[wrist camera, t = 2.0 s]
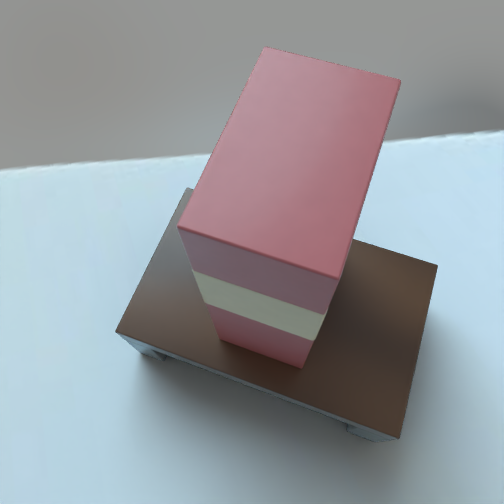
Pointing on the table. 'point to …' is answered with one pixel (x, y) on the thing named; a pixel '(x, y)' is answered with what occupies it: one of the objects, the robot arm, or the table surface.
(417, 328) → the shelf
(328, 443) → the table surface
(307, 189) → the packet
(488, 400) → the table surface
